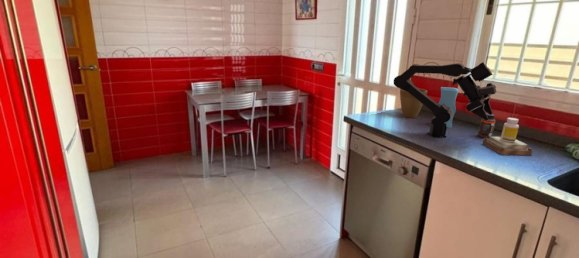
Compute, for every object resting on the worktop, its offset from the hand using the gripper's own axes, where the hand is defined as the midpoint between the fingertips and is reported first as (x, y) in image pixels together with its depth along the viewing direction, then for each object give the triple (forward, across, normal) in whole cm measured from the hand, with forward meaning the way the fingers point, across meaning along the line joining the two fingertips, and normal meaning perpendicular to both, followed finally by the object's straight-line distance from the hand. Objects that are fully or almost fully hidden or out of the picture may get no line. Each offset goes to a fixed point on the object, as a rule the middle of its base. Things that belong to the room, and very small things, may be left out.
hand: (489, 117), depth 140 cm
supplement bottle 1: (+10, +13, +11) cm, 19 cm away
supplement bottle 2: (+12, 0, -1) cm, 13 cm away
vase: (-3, +18, +27) cm, 33 cm away
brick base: (+16, -1, +2) cm, 16 cm away
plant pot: (-16, +23, +42) cm, 51 cm away
